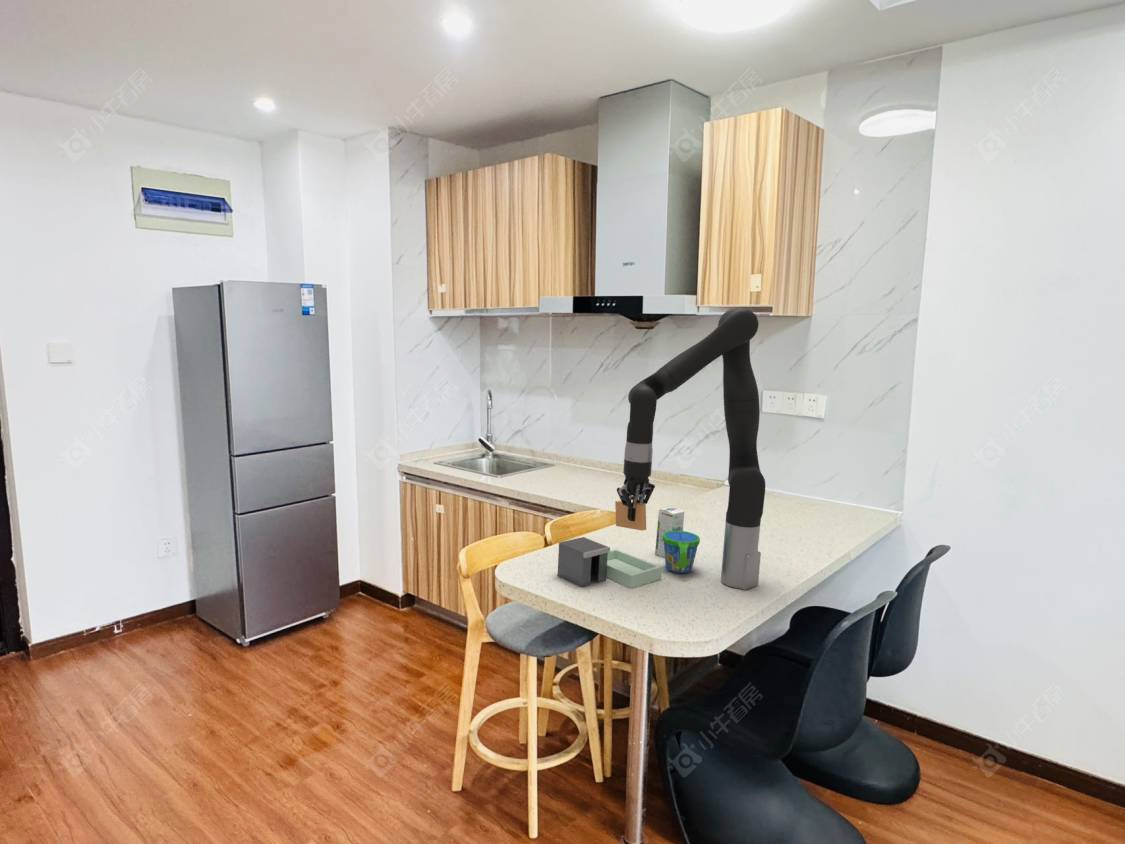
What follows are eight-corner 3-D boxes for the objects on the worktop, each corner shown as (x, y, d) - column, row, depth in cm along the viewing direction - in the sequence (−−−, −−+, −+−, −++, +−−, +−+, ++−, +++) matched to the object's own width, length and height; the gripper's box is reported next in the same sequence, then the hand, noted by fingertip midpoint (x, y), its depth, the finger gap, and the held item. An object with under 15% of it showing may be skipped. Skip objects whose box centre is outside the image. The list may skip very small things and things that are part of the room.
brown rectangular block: (646, 529, 181) (645, 504, 181) (642, 530, 180) (641, 504, 180) (620, 525, 189) (619, 500, 189) (616, 525, 188) (615, 501, 188)
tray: (661, 579, 185) (661, 566, 185) (631, 588, 178) (631, 575, 177) (615, 560, 199) (615, 548, 198) (585, 568, 191) (586, 556, 191)
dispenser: (608, 581, 182) (610, 547, 181) (583, 588, 176) (585, 553, 175) (581, 569, 190) (583, 536, 189) (557, 575, 184) (559, 542, 183)
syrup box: (666, 550, 209) (669, 505, 207) (681, 556, 205) (684, 510, 203) (654, 554, 205) (657, 508, 203) (670, 559, 201) (673, 513, 199)
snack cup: (698, 581, 185) (700, 546, 183) (659, 577, 187) (662, 542, 185) (696, 562, 200) (699, 529, 199) (661, 558, 202) (663, 526, 200)
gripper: (630, 463, 174) (626, 527, 176) (665, 458, 183) (660, 519, 185) (610, 458, 180) (606, 520, 182) (644, 453, 188) (640, 513, 191)
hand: (634, 519), depth 184 cm, fingers closed on brown rectangular block, 1 cm apart
